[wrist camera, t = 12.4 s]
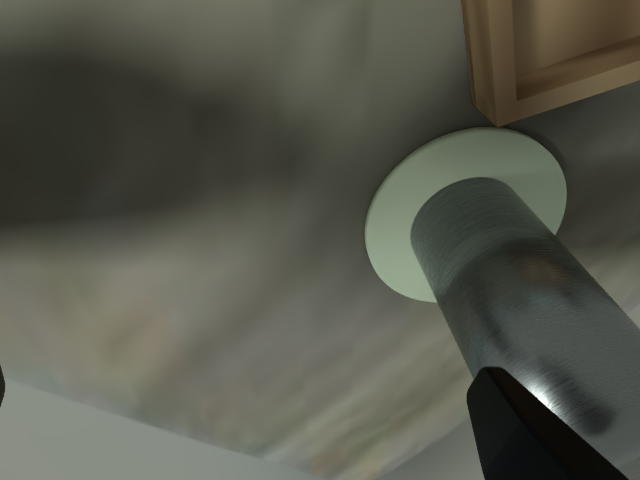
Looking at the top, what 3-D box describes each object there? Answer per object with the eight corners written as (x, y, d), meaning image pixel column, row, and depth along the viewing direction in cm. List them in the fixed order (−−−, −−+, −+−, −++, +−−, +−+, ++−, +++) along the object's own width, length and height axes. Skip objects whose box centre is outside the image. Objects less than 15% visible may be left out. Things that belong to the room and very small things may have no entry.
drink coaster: (344, 289, 26) (346, 297, 25) (396, 111, 20) (400, 117, 20) (509, 299, 28) (514, 306, 28) (597, 141, 22) (605, 147, 22)
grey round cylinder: (386, 240, 23) (487, 483, 14) (473, 154, 21) (663, 372, 12) (460, 287, 26) (587, 520, 16) (543, 215, 24) (748, 435, 14)
